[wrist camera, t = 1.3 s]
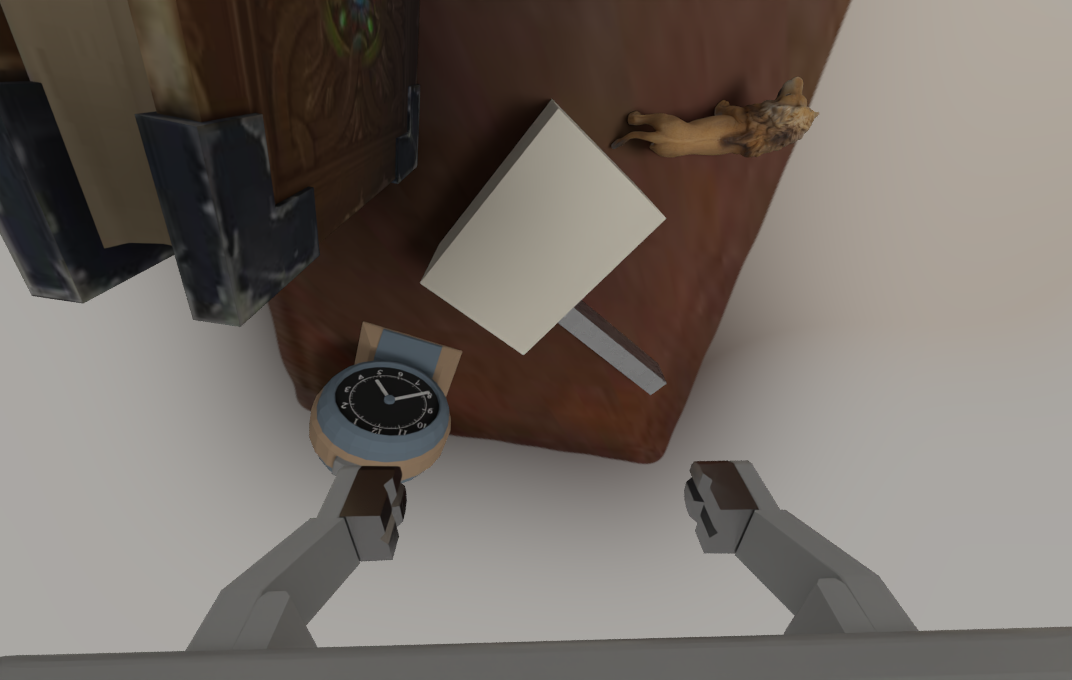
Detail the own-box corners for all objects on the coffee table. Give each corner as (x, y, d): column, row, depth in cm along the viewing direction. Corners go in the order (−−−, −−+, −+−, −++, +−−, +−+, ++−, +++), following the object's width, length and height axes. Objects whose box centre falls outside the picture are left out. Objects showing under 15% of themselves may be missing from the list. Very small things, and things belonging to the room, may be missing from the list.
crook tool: (588, 248, 46) (593, 262, 43) (689, 339, 53) (700, 358, 49) (542, 294, 49) (543, 311, 46) (643, 375, 56) (650, 395, 52)
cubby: (551, 98, 38) (558, 108, 30) (639, 188, 43) (666, 218, 34) (439, 243, 45) (419, 283, 37) (524, 307, 50) (523, 355, 42)
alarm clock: (470, 353, 53) (447, 464, 39) (449, 407, 58) (423, 524, 43) (354, 318, 50) (282, 424, 35) (343, 378, 55) (276, 493, 40)
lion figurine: (771, 71, 37) (832, 73, 30) (768, 135, 40) (823, 152, 33) (606, 117, 39) (625, 129, 31) (614, 175, 42) (633, 200, 34)
